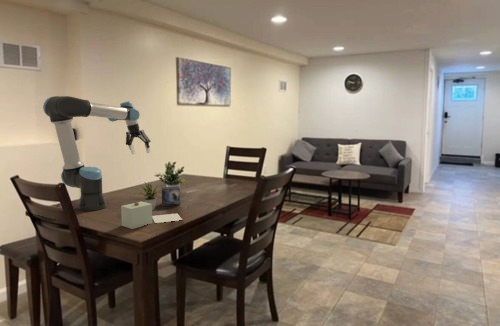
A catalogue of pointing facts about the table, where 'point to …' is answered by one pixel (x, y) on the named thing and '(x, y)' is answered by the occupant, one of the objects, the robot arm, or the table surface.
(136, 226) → the cover
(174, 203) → the small box
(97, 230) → the table surface
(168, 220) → the mat
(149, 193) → the house plant
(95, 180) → the robot arm
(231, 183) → the table surface
